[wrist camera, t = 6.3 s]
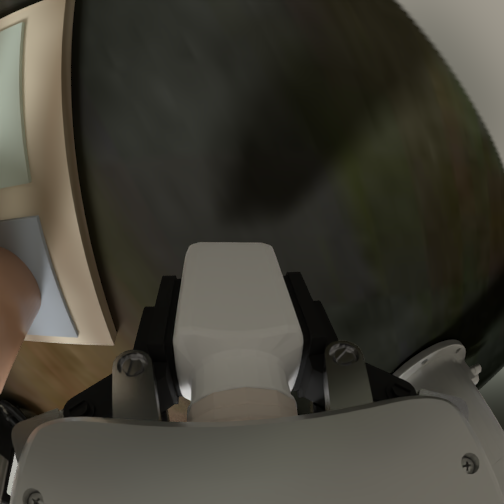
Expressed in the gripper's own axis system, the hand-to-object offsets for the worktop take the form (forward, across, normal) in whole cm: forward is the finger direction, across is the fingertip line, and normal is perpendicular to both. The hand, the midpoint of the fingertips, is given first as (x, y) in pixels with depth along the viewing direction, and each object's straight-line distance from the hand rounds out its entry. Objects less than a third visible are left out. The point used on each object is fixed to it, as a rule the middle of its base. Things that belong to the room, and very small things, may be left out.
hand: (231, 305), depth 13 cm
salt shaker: (+3, 0, 0) cm, 3 cm away
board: (+5, +15, -4) cm, 16 cm away
